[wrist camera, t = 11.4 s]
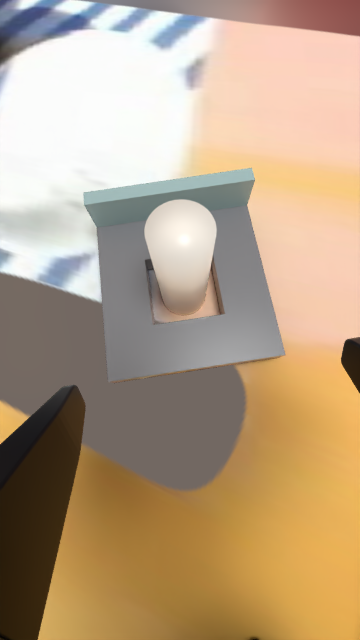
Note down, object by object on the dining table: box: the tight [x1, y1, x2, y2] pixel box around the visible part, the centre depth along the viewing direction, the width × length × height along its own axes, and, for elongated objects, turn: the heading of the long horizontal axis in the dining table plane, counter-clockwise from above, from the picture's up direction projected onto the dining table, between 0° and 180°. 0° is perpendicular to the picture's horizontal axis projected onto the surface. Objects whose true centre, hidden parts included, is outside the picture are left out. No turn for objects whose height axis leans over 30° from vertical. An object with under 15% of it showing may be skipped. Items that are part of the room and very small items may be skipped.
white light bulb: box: [144, 199, 217, 315], centre depth 19 cm, size 4×4×10 cm
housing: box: [84, 168, 285, 383], centre depth 22 cm, size 15×14×5 cm
